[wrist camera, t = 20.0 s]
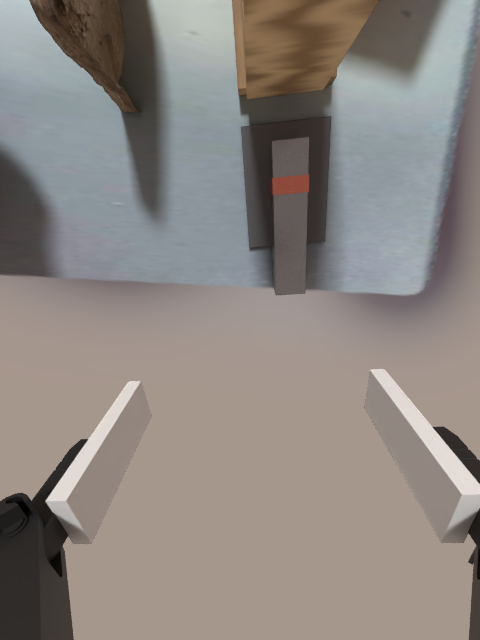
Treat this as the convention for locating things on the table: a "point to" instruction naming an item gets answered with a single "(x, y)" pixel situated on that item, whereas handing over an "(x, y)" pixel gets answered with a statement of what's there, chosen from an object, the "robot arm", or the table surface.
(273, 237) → the grey bar with band
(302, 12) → the stand
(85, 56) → the mineral sample
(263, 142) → the mat
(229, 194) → the table surface
